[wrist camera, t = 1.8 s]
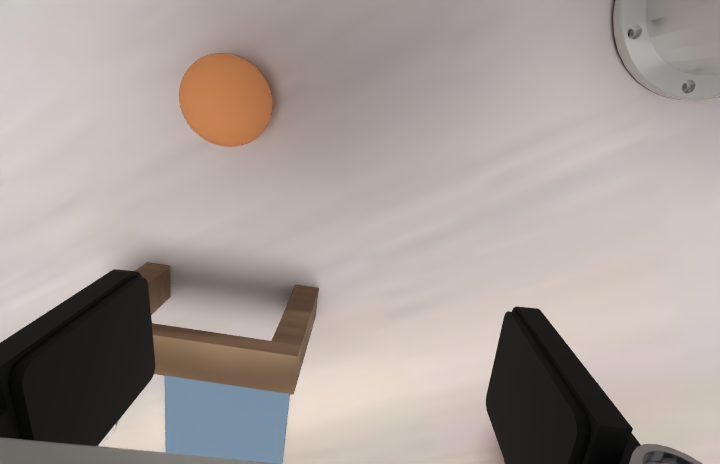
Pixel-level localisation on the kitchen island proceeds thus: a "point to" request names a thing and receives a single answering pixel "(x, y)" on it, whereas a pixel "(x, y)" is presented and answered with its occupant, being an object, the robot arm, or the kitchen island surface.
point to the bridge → (232, 344)
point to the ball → (225, 99)
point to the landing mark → (224, 421)
